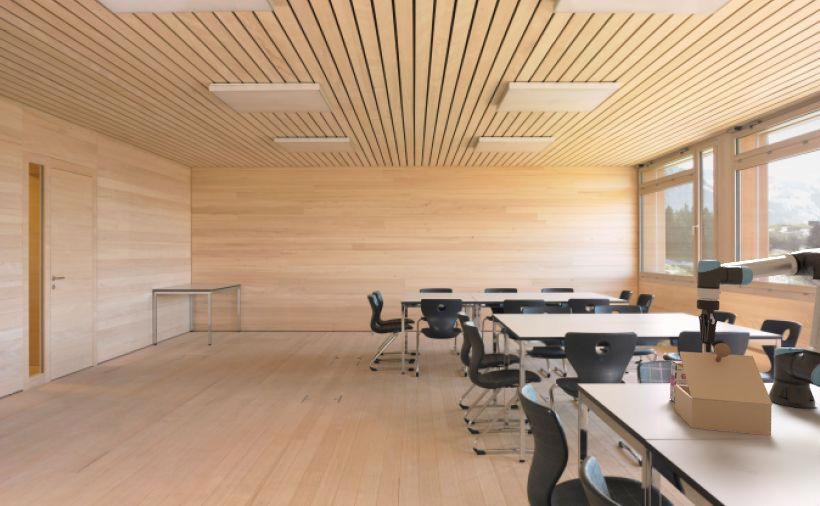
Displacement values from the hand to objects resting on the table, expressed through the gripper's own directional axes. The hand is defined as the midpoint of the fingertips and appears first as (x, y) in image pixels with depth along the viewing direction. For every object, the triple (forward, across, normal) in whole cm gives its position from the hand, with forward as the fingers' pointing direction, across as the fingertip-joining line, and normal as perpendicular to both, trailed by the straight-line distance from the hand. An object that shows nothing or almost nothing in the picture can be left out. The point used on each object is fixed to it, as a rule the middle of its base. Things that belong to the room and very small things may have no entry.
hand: (706, 360), depth 186 cm
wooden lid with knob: (+3, -15, 0) cm, 16 cm away
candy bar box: (+20, +11, +4) cm, 23 cm away
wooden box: (+20, -13, 0) cm, 24 cm away
